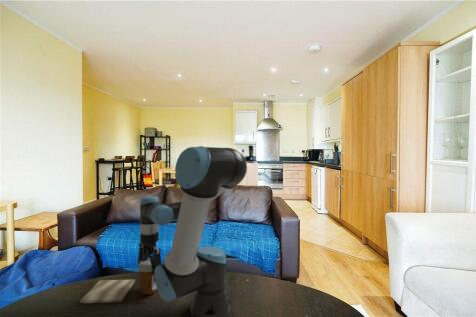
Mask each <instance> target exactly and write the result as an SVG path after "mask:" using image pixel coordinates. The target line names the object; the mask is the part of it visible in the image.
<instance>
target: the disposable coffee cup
mask: <svg viewBox="0 0 476 317" xmlns="http://www.w3.org/2000/svg"><path fill="white" fill-rule="evenodd" d="M140 261H141V260H140ZM137 265H138V264H137ZM137 270H138V274H139V282H140V289H141V294H143V295H151V294H154V293H156V291H157V292H158V290H157V289H154V290H152V274H153V271H152V270H153V269H152V266H151V261H150V258H148V260H146V261H141V262H140V263H139V265H138V266H137Z"/></svg>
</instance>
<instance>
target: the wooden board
mask: <svg viewBox="0 0 476 317" xmlns="http://www.w3.org/2000/svg"><path fill="white" fill-rule="evenodd" d="M135 283H136V279H135V278H133V279H132V278H131V279H106V280H103V279H102V280H98V281H97V283H96V284H95V285H94V286H93V287H92V288H91V289H90V290H89V291H88V292H87V293H86V294H85V295H84V296H83V297H82V298H81V299H80V301H79V304H98V303H99V304H101V303H121V302H123V300H124V299H125V298H126V296H127V294H128V293H129V292H130V290H131V289H132V287H133V285H134V284H135Z"/></svg>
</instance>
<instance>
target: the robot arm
mask: <svg viewBox="0 0 476 317" xmlns="http://www.w3.org/2000/svg"><path fill="white" fill-rule="evenodd" d="M174 172H175V176H174V177H175V181H176V183H177V185H178V186H179V190H180V191H181V192H182V193H183V194H182V199H181V201H174V202H169V203H160V201H159V197H158V196H156V195H155V196H154V195H148V196H142V197H141V198H140V201H139V202H140V203H139V218H140V219H139V233H140V234H139V243H138V247H139V248H138V258H137V265H139V263H140V262H141V261H146V260H148V259H150V261H151V266H152V269H153V270H152V271H153V274H152V290H154V289H157V292H158V294H159V296H160V298H161V299H162V300H163V301H164V302H172V301H173V300H174V301H175V300H177V299H180V298H181V297H184V296H186V295H189V294H192V293H193V296H192V300H191V303H190V311H189V312H190V315H191V316H192V317H227V316H228V315H229V314H230V312H231V300H230V298H229V295H228V291H227V285H226V284H227V254H226V252H225V251H224V250H223V249H221V248H219V247H215V246H209V245H208V246H200V244H201V239H202V236H203V231H204V228H205V223H206V221H207V215H208V212H209V209H210V204H211V202H213V200H215V199H216V198H218V197H219V196H221V194H223V193H224V192H225V191H226V190H231V189H234V188H236V187H237V186H238V185H239V184H240V183H242V181H243V180H245V177H246V175H247V172H248V164H247V161H246V159H245V157H244V155H243V154H242V153H241V152H240V151H239V150H237V149H234V148H231V147H213V146H211V147H210V146H209V147H208V146H203V145H202V146H200V145H198V146H189V147H187V148H185V149H184V150H182V151H181V153H180V154H179V156H178V158H177V160H176V163H175V169H174ZM175 221H176V226H175V231H174V235H173V240H172V245H171V248H170V251H169V252H167V254H166V255H165V256H164V260H163V263H162V258H161V257H162V255H161V252H162V250H161V247H160V248H159V247H157V242H159V240H160V239H159V238H160V236H159V235H160V233H159V226H167V225H168V224H170V223H171V222H175ZM199 246H200V247H199Z"/></svg>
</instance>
